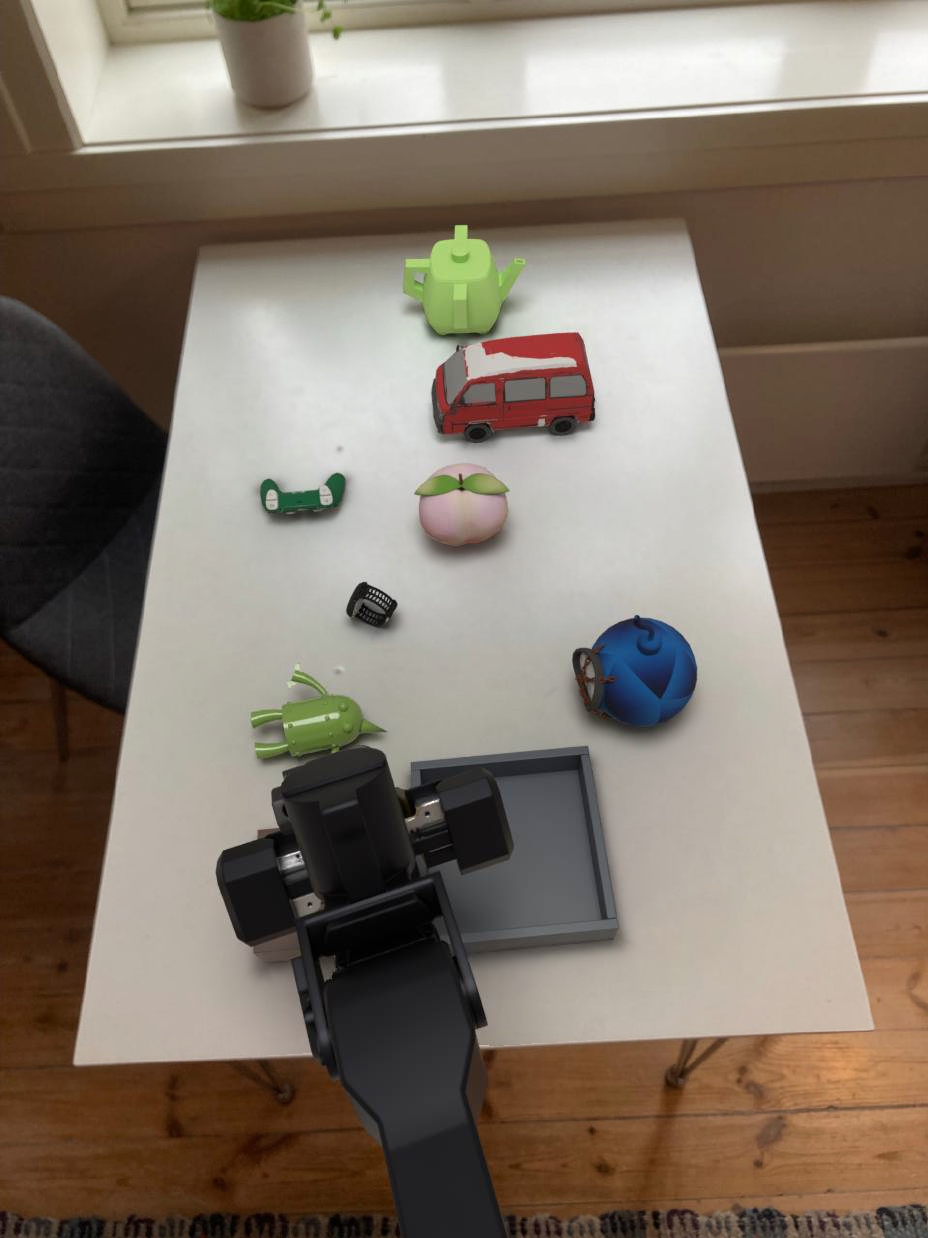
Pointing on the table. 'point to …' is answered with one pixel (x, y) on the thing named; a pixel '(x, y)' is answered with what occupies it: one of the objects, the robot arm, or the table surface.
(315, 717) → the character figure
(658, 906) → the table surface
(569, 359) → the toy car
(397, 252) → the table surface
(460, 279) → the teapot
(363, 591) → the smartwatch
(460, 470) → the decorative fruit
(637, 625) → the bomb
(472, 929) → the tray
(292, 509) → the gaming controller
